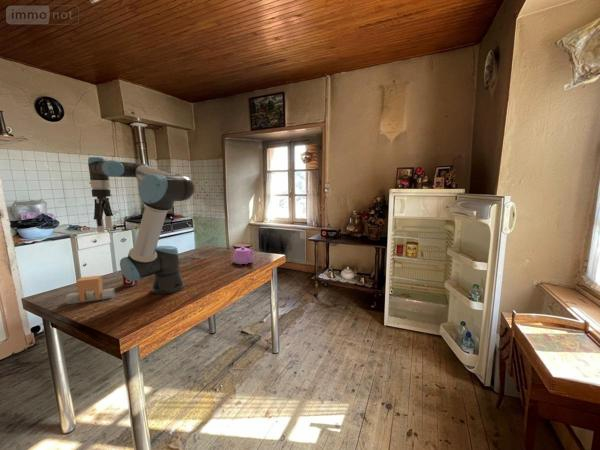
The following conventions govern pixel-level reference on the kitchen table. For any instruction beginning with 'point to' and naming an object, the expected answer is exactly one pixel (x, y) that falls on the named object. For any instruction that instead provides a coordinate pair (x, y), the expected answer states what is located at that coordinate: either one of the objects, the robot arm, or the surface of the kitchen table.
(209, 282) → the kitchen table surface
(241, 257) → the teapot
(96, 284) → the upright orange wooden block
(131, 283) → the soda can
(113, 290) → the grey segmented bar
